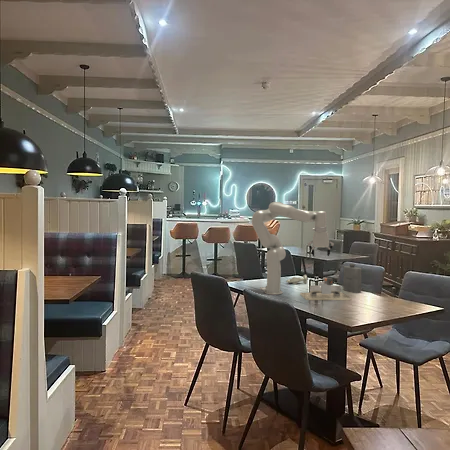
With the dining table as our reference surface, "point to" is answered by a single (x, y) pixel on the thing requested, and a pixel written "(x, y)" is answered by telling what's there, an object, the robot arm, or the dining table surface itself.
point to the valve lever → (329, 281)
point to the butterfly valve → (296, 280)
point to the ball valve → (325, 293)
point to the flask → (352, 279)
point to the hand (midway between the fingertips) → (320, 255)
